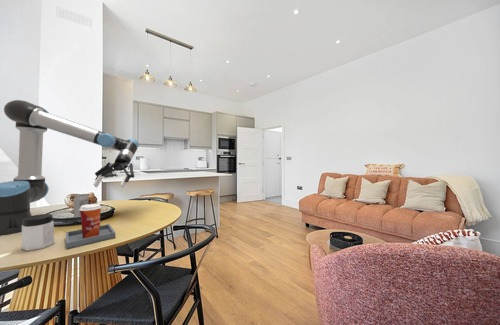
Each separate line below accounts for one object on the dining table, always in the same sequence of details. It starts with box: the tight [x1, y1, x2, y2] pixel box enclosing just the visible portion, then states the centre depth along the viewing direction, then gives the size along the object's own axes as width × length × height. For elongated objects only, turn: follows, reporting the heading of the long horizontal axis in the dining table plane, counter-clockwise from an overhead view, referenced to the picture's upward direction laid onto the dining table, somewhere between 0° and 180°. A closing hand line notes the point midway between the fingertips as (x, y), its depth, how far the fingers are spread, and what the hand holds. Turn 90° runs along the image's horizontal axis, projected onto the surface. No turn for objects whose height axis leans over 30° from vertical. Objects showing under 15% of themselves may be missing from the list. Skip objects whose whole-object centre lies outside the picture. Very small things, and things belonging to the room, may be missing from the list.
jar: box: [21, 213, 55, 252], centre depth 78 cm, size 9×8×12 cm
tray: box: [65, 223, 116, 250], centre depth 86 cm, size 16×15×2 cm
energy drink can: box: [73, 193, 89, 218], centre depth 107 cm, size 6×6×15 cm
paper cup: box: [79, 203, 102, 239], centre depth 86 cm, size 8×8×14 cm
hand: (108, 186), depth 105 cm, fingers open, 13 cm apart
